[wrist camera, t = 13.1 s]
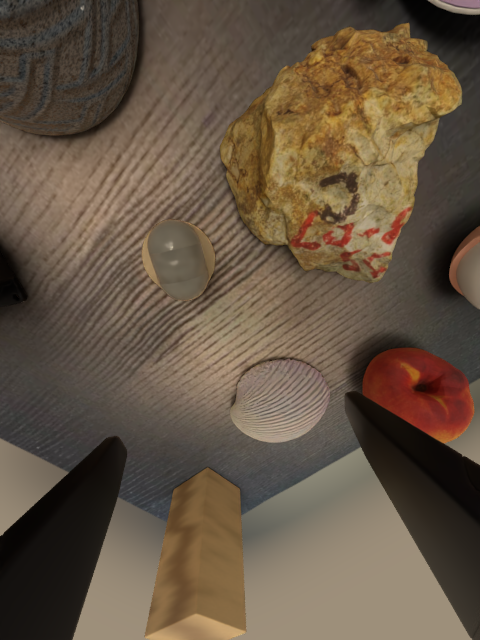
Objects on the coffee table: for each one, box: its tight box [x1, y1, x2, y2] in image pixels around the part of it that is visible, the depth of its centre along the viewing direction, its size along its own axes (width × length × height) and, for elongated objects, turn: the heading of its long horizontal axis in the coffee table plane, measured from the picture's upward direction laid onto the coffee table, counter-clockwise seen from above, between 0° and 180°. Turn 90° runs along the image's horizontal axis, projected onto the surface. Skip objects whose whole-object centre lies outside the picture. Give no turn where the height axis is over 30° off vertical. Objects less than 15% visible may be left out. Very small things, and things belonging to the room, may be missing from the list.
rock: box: [220, 23, 462, 283], centre depth 14 cm, size 12×9×10 cm
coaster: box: [142, 221, 215, 287], centre depth 18 cm, size 6×6×1 cm
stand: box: [145, 467, 246, 640], centre depth 25 cm, size 6×6×12 cm
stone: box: [147, 219, 209, 301], centre depth 16 cm, size 6×4×4 cm, turn 11°
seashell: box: [230, 359, 330, 443], centre depth 23 cm, size 10×6×10 cm
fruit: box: [363, 348, 474, 443], centre depth 20 cm, size 8×8×8 cm
